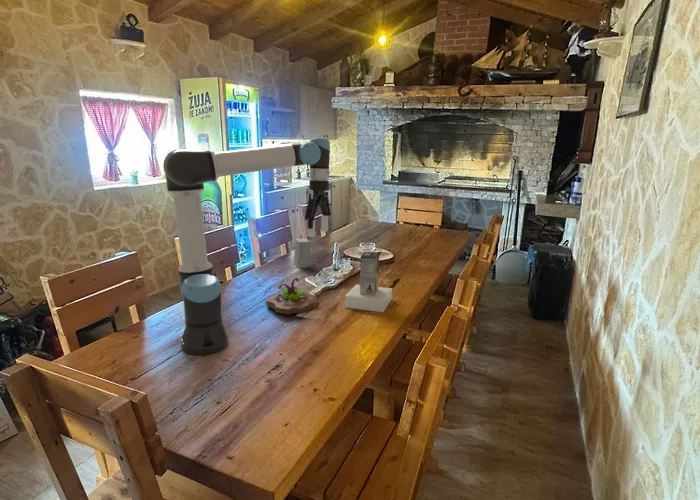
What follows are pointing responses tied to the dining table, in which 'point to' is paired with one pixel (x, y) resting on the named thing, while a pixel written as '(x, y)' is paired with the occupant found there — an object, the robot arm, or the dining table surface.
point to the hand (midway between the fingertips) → (317, 234)
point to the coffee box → (369, 273)
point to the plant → (292, 300)
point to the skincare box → (302, 253)
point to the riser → (368, 299)
